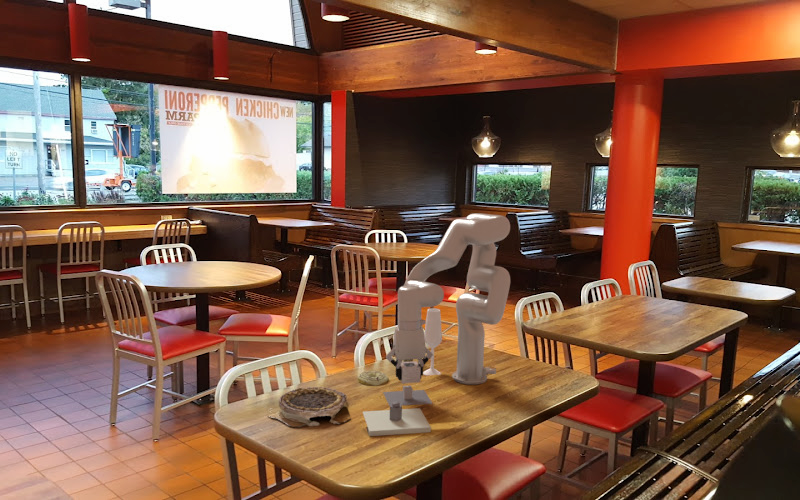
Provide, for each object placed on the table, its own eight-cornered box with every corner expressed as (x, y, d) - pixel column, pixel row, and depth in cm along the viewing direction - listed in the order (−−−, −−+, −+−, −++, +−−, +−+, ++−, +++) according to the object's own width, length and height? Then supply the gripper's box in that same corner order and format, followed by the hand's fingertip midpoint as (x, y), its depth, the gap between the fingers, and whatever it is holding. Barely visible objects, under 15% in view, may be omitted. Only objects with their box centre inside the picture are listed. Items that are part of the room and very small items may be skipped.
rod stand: (423, 394, 207) (424, 379, 206) (432, 408, 195) (433, 393, 194) (382, 396, 204) (383, 381, 203) (389, 410, 192) (389, 395, 191)
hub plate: (419, 412, 191) (420, 392, 190) (430, 432, 178) (431, 410, 177) (362, 416, 187) (362, 395, 187) (369, 436, 174) (369, 414, 173)
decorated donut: (379, 392, 208) (379, 381, 208) (352, 386, 213) (352, 376, 212) (393, 382, 217) (393, 372, 217) (366, 377, 222) (366, 367, 221)
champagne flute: (419, 371, 229) (421, 308, 226) (435, 369, 232) (437, 307, 229) (428, 377, 223) (429, 312, 220) (444, 374, 226) (446, 311, 223)
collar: (416, 375, 202) (416, 361, 202) (420, 382, 196) (420, 367, 196) (398, 376, 201) (398, 362, 200) (402, 383, 195) (402, 368, 195)
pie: (251, 409, 192) (251, 393, 191) (321, 389, 211) (321, 375, 211) (304, 438, 172) (304, 421, 172) (376, 413, 192) (376, 398, 191)
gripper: (432, 319, 201) (432, 372, 204) (380, 322, 198) (381, 375, 201) (438, 326, 194) (438, 380, 197) (385, 329, 191) (385, 384, 193)
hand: (409, 377), depth 199 cm, fingers closed on collar, 6 cm apart
